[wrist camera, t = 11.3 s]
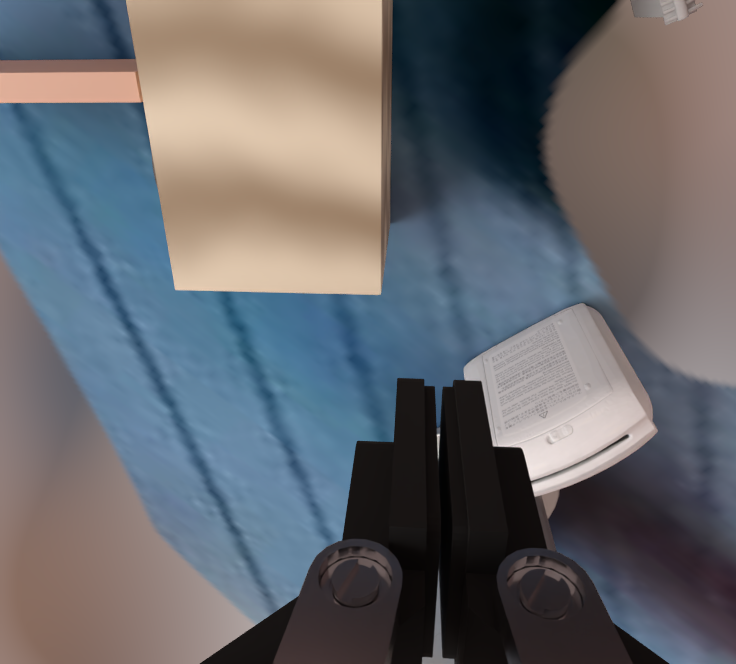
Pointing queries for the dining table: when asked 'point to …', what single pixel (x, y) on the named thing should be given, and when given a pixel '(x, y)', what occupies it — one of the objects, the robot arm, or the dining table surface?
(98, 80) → the door
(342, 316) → the dining table surface
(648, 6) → the garden wall model
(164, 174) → the wooden cabinet
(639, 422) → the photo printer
